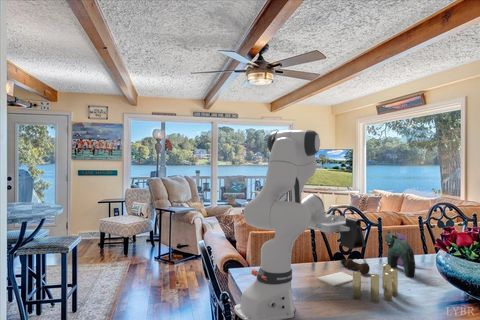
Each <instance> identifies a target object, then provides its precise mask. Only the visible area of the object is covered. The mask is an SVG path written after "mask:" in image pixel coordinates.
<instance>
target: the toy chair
mask: <svg viewBox="0 0 480 320" xmlns="http://www.w3.org/2000/svg"><path fill="white" fill-rule="evenodd" d="M396 234H397V235H398V236H399V238H400V239H402V240H403V239H405V240H406V241H407V242H408V237H407V236H406V235H404V234H401V233H396ZM397 266H404V264H403V261H402V260H401V258H399V259H398V262H397Z"/></svg>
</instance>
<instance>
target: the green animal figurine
mask: <svg viewBox="0 0 480 320" xmlns="http://www.w3.org/2000/svg"><path fill="white" fill-rule="evenodd" d="M395 232H397V233H392V232H390V231H389V230H387V233H386V234H385V236H384V243H385V245H386V246H388V248H387V257H386V258H387V259H386V260H387V264H389V265H390V268H392V269H395V268H398V265H397V262H398V259H399V258H401V260H402V261H403V264H404V265H403V269H404V274H405V277H406V278H415V273H416V260H415V253H414V250H413V247H412V245H411V244H410V243H409V241H408V240H407V241H406V240H405V239H403V240H402V239H400V238H399V236H398V235H397V234H401V233H400V230H399V229H395Z"/></svg>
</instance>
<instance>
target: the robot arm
mask: <svg viewBox="0 0 480 320" xmlns="http://www.w3.org/2000/svg"><path fill="white" fill-rule="evenodd" d="M266 142H267V143H266V146H267V150H268V151H269V158H268V164H267V171H266V176H265V180H264V183H263V185H262V187H261V189H260V191H259V193H258V194H257V195H256V196H255V197H253V198H252V199H251V200H249V201H247V203H246V204H245V206H244V208H243V219H244V221H245V223H246V224H247V226H250V227H252V228H256V229H259V230H268V231H274V237H273V238H271V239H269V240H267V241H265V242H264V243H263V244H262V246H261V247H260V267H259V269H258V270H256V269H254V268H253V269H252V270H251V272H250V273H251V276H254V277H256V279H255V280H253V282H252V283H251V284H250V285H249V286H248V287H247V288H246V289H245V290H243V291H242V293H241V297H240V303H238V304H236V305H234V307H233V311H234V313H235V314H236V315H237V316H238V317H239V318H240V319H242V320H287V319H292V318H294V317H295V313H294V312H295V310H296V304H295V302H294V296H293V290H292V289H293V287H292V281H293V269H292V253H293V252H292V251H293V248H294V244H295V242H296V240H297V239H298V238H299V236H300V235H302V234H303V233H304V232H306V231H307V230H308V229H312V230H314V231H319V232H322V233H325V234H335V233H339V232H344V231H349V230H350V228H349V227H345V225H346V218H347V217H345V216H344V215H336V214H332V213H331V214H329V213H326V212H325V211H326V210H325V206H324V205H325V204H324V201H323V199H322V198H321V197H320V196H318V195H317V194H313V193H310V194H308V195H307V196H305V197H304V198H302V192H303V189H304V188H305V186H306V185H307V182H309V180H310V179H311V178H313V176H314V175H315V173H316V170H317V159H316V154H317V153H318V152H319V151H320V146H321V139H320V135H319V133H317V132H316V131H315V130H311V129H307V130H302V129H286V130H285V129H284V130H275V131H273V132H271V133H269V135H268V137H267V141H266ZM286 193H288V201H285V200H280V199H281V197H282V196H283V195H284V194H286Z"/></svg>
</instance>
